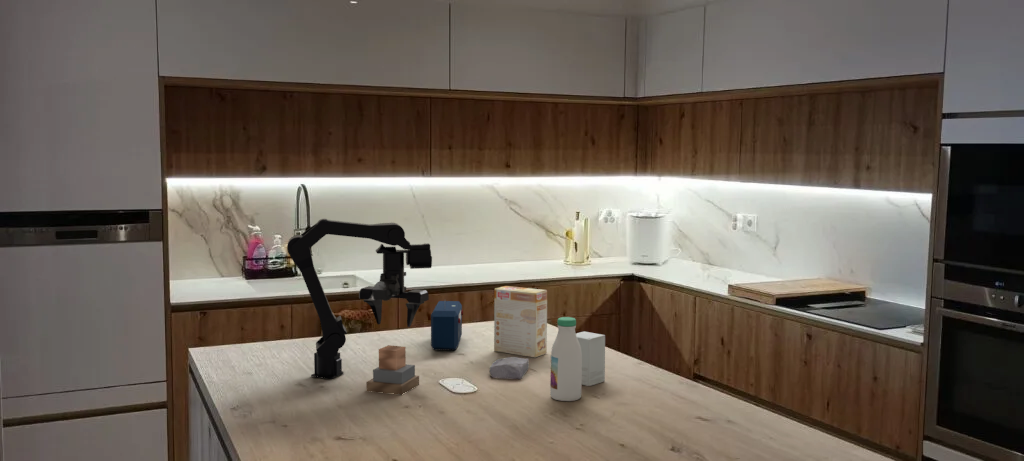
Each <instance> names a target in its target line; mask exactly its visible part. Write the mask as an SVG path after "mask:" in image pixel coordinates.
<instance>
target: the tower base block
mask: <svg viewBox="0 0 1024 461" xmlns="http://www.w3.org/2000/svg"><path fill="white" fill-rule="evenodd" d="M365 385H366V392H369V391H370V392H371V391H372V392H371V393H378V392H383V393H382V394H387V393H394V394H393V395H395V394H401V395H400V396H403V395H404V394H403V393H405V392H407V391H408V392H410V391H411V389H412V388H413V389H415V388H416V386H417V387H418V386H420V375H416V374H415V376H414V377H413V378H411V379H410V380H408V381H406V382H405V383H403V384H395V383H385V382H375V381H373V378H371V379H370V380H367V381H366V384H365ZM414 387H415V388H414ZM413 389H412V390H413ZM409 390H410V391H409ZM408 392H407V393H408ZM402 394H403V395H402ZM405 394H406V393H405Z"/></svg>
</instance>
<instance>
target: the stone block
mask: <svg viewBox="0 0 1024 461" xmlns="http://www.w3.org/2000/svg"><path fill="white" fill-rule="evenodd" d="M529 363H530V362H529V358H528V357H527V358H523V357H516V356H508V357H504V358H498V359H496V360H495V361H494V362H492V363H491V365H490V366H489V374H490V377H492V378H494V379H495V378H496V379H511V380H512V379H513V380H514V379H515V380H521V379H522V378H523V377H525V374H526V373H527V371H528V370H529V366H530V365H529Z"/></svg>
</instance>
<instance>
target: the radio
mask: <svg viewBox="0 0 1024 461" xmlns="http://www.w3.org/2000/svg"><path fill="white" fill-rule="evenodd" d="M463 316H464V310H463V305H462V303H461V302H460V301H459V300H456V301H455V300H438V302H437V304H436V305H435V306H434V309H433V310H432V312H431V313H430V346H431V348H432V349H433V351H456V349H457V348H458V347H459V344H460V340H461V339H462V334H463V328H462V327H463V324H462V323H463V321H462V320H463Z"/></svg>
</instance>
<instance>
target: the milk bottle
mask: <svg viewBox="0 0 1024 461" xmlns="http://www.w3.org/2000/svg"><path fill="white" fill-rule="evenodd" d="M556 324H557V328H558V330H557V334H556V336H555V339H554V341H553V344H552V347H551V351H550V353H551V354H550V379H549V380H550V381H549V382H550V386H549V388H550V390H549V391H550V394H549V395H550V398H551V399H553V400H556V401H562V402H574V401H577V400H580V399H581V397H582V384H581V383H582V353H581V347H580V344H579V341H578V339H577V336H576V327H577V319H576V318H575V317H572V316H571V317H570V316H561V317H559V318H557V322H556Z"/></svg>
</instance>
